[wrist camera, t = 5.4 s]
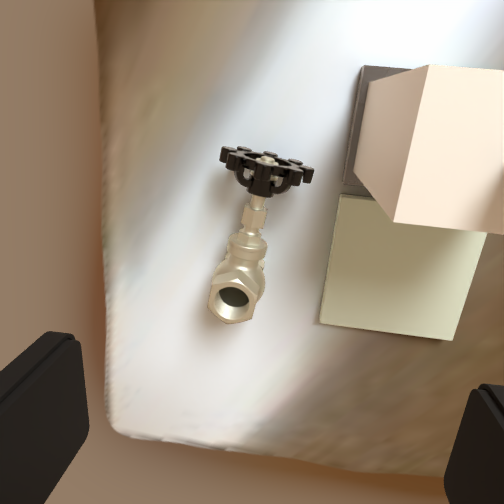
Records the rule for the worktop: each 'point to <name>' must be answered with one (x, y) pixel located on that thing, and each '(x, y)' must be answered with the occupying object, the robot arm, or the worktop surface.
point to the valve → (250, 231)
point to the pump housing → (431, 145)
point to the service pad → (396, 272)
